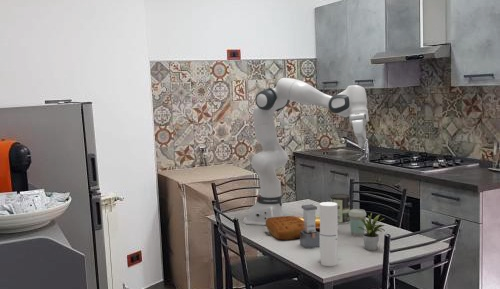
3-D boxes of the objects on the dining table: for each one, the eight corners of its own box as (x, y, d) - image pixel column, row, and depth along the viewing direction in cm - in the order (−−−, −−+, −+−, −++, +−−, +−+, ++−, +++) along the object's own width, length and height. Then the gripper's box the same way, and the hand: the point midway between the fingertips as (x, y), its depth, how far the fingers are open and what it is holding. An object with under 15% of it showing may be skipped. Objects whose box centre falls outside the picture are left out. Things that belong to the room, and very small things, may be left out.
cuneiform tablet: (264, 231, 255) (263, 216, 255) (295, 228, 260) (295, 213, 259) (277, 244, 234) (277, 227, 233) (312, 240, 239) (312, 224, 238)
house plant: (356, 254, 218) (356, 217, 216) (349, 244, 231) (349, 209, 230) (389, 253, 218) (389, 216, 216) (380, 243, 232) (380, 208, 230)
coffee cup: (366, 237, 241) (366, 213, 239) (348, 237, 243) (348, 212, 241) (366, 232, 249) (366, 208, 248) (348, 232, 251) (348, 208, 249)
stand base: (303, 253, 220) (302, 236, 220) (292, 245, 232) (292, 228, 231) (327, 250, 224) (327, 232, 223) (316, 242, 235) (315, 226, 235)
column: (306, 247, 225) (306, 208, 222) (302, 244, 230) (301, 205, 227) (317, 246, 226) (317, 206, 224) (312, 243, 231) (312, 204, 229)
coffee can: (348, 218, 275) (348, 193, 274) (351, 223, 265) (351, 197, 263) (329, 219, 276) (329, 193, 274) (332, 224, 265) (331, 198, 264)
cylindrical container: (316, 262, 209) (316, 203, 206) (329, 259, 213) (329, 201, 210) (328, 267, 203) (327, 206, 200) (341, 263, 207) (341, 204, 204)
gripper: (354, 123, 246) (357, 151, 244) (349, 115, 227) (352, 145, 225) (367, 121, 245) (370, 149, 242) (363, 113, 225) (366, 144, 223)
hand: (361, 147), depth 234 cm, fingers open, 8 cm apart
